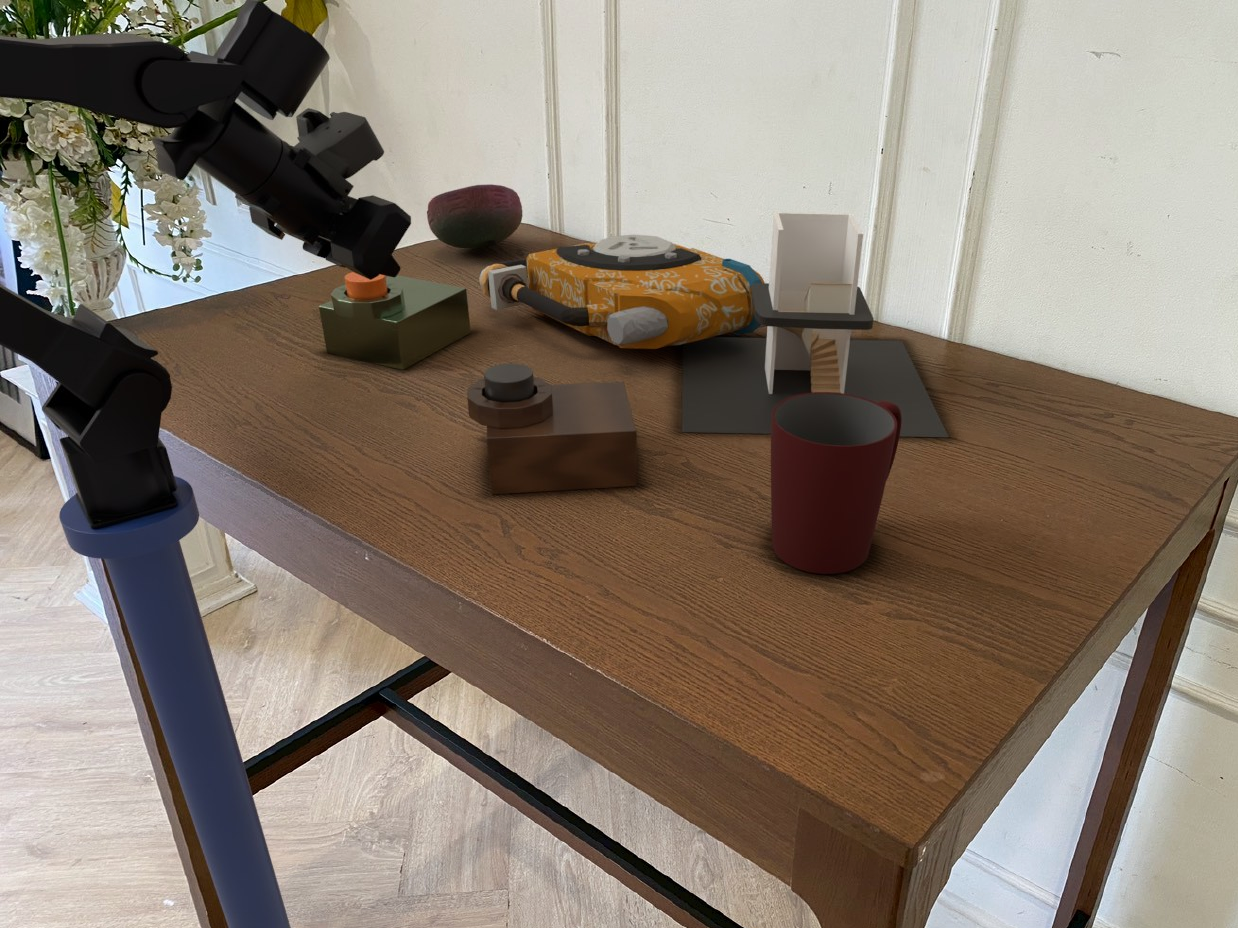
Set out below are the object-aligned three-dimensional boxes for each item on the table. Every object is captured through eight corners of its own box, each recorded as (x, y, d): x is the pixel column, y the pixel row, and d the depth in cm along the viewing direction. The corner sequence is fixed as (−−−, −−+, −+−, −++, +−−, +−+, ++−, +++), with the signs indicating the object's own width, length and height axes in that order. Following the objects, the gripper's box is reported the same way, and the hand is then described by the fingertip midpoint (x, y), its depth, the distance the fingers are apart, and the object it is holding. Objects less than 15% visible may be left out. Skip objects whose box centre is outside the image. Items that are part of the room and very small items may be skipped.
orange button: (370, 304, 102) (367, 284, 101) (339, 297, 103) (336, 278, 102) (396, 292, 105) (393, 273, 104) (365, 286, 106) (362, 267, 105)
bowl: (542, 227, 133) (531, 169, 134) (446, 224, 126) (436, 164, 127) (503, 272, 147) (493, 220, 147) (415, 272, 140) (406, 217, 141)
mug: (840, 494, 85) (855, 372, 79) (926, 538, 79) (949, 410, 73) (738, 544, 78) (746, 413, 72) (825, 595, 72) (840, 459, 66)
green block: (394, 375, 103) (384, 309, 99) (317, 357, 106) (305, 293, 103) (470, 332, 114) (465, 271, 110) (398, 318, 117) (390, 258, 113)
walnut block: (473, 495, 83) (465, 418, 79) (475, 440, 91) (468, 368, 88) (636, 486, 85) (636, 410, 81) (624, 433, 93) (623, 362, 90)
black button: (485, 406, 82) (483, 383, 81) (485, 386, 85) (483, 364, 84) (535, 404, 83) (533, 381, 82) (533, 384, 86) (532, 362, 85)
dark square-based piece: (681, 432, 94) (685, 257, 85) (683, 336, 115) (685, 188, 106) (949, 437, 94) (979, 264, 86) (902, 341, 115) (922, 194, 106)
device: (607, 307, 96) (459, 241, 116) (610, 387, 100) (467, 310, 120) (781, 265, 108) (620, 212, 128) (777, 339, 113) (622, 276, 133)
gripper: (373, 97, 76) (503, 220, 88) (256, 68, 87) (387, 181, 99) (293, 221, 75) (436, 327, 88) (186, 176, 86) (327, 276, 98)
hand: (396, 272), depth 93 cm, fingers closed
